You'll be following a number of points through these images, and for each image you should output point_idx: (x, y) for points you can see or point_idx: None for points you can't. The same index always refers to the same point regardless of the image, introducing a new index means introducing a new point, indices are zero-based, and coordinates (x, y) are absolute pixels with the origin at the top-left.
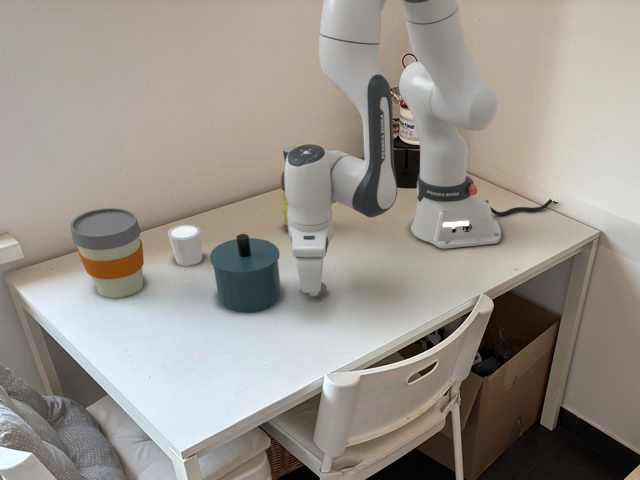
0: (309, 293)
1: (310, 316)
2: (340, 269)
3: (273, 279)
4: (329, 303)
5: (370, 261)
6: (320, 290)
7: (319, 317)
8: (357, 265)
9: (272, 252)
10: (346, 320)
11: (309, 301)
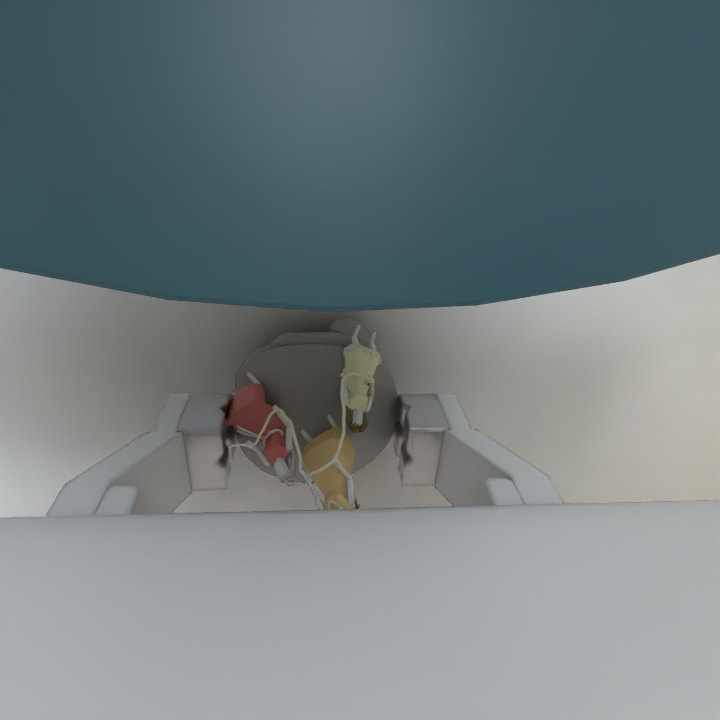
0: (167, 402)
1: (31, 352)
2: (593, 490)
3: None
4: None
5: None
6: (249, 458)
7: (35, 406)
8: None
9: (489, 39)
10: None
11: (232, 339)
